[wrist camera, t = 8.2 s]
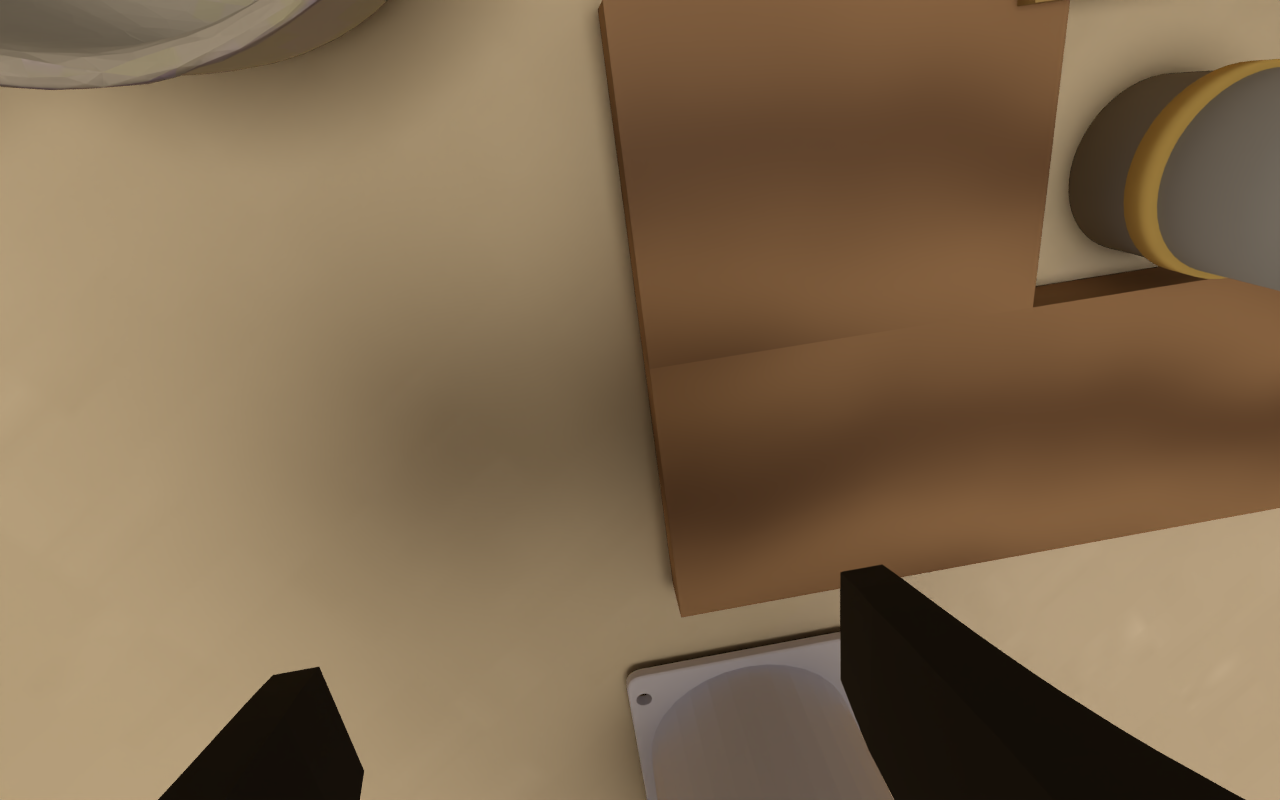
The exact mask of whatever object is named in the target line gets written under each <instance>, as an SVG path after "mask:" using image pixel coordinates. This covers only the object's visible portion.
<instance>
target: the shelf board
mask: <svg viewBox="0 0 1280 800" xmlns="http://www.w3.org/2000/svg"><path fill="white" fill-rule="evenodd" d="M1069 4H1070V0H602V2H601V4H600V6H599V8H598V13H599V21H600V29H601V36H602V44H603V52H604V59H605V67H606V75H607V82H608V90H609V98H610V105H611V113H612V121H613V128H614V136H615V144H616V151H617V159H618V166H619V174H620V182H621V189H622V197H623V205H624V212H625V220H626V228H627V235H628V243H629V251H630V258H631V266H632V274H633V281H634V289H635V297H636V304H637V312H638V319H639V327H640V335H641V342H642V350H643V358H644V365H645V373H646V381H647V388H648V396H649V404H650V411H651V419H652V427H653V434H654V442H655V450H656V457H657V465H658V473H659V480H660V488H661V495H662V503H663V511H664V518H665V526H666V534H667V541H668V549H669V557H670V564H671V572H672V580H673V586H674V590H675V594H676V598H677V602H678V606H679V610H680V614H681V617H686V616H692V615H697V614H703V613H708V612H714V611H719V610H725V609H730V608H735V607H741V606H746V605H752V604H757V603H763V602H768V601H774V600H779V599H785V598H790V597H795V596H801V595H806V594H812V593H817V592H823V591H828V590H834V589H839V588H840V572H843V571H848V570H854V569H859V568H865V567H870V566H876V565H881V564H883V565H884V566H885V567H887V568H888V569H890V570H891V571H892V572H894V573H895V574H896V575H898V576H899V577H905V576H910V575H916V574H921V573H926V572H932V571H937V570H943V569H948V568H954V567H959V566H965V565H970V564H976V563H981V562H986V561H992V560H997V559H1003V558H1008V557H1014V556H1019V555H1025V554H1030V553H1036V552H1041V551H1047V550H1052V549H1057V548H1063V547H1068V546H1074V545H1079V544H1085V543H1090V542H1096V541H1101V540H1107V539H1112V538H1117V537H1123V536H1128V535H1134V534H1139V533H1145V532H1150V531H1156V530H1161V529H1167V528H1172V527H1177V526H1183V525H1188V524H1194V523H1199V522H1205V521H1210V520H1216V519H1221V518H1227V517H1232V516H1237V515H1243V514H1248V513H1254V512H1259V511H1265V510H1270V509H1276V508H1280V291H1278V290H1274V289H1270V288H1266V287H1262V286H1258V285H1254V284H1250V283H1246V282H1242V281H1238V280H1234V279H1230V278H1223V279H1205V278H1200V277H1195V276H1191V275H1187V274H1183V273H1179V272H1176V271H1172V270H1168V269H1165V268H1162V267H1156V268H1150V269H1144V270H1137V271H1131V272H1125V273H1118V274H1112V275H1106V276H1100V277H1093V278H1087V279H1081V280H1074V281H1068V282H1062V283H1056V284H1049V285H1043V286H1037V287H1035V285H1036V277H1037V269H1038V260H1039V252H1040V244H1041V236H1042V227H1043V219H1044V211H1045V202H1046V194H1047V186H1048V178H1049V169H1050V161H1051V153H1052V145H1053V136H1054V128H1055V120H1056V111H1057V103H1058V95H1059V87H1060V78H1061V70H1062V62H1063V53H1064V45H1065V37H1066V29H1067V20H1068V12H1069Z"/></svg>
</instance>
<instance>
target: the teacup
mask: <svg viewBox="0 0 1280 800" xmlns="http://www.w3.org/2000/svg"><path fill="white" fill-rule="evenodd" d="M386 1H387V0H0V86H1V87H13V88H28V89H44V90H63V89H91V88H103V87H116V86H129V85H142V84H150V83H154V82H158V81H162V80H166V79H170V78H174V77H178V76H181V75H196V74H209V73H219V72H228V71H235V70H240V69H246V68H251V67H256V66H262V65H267V64H273V63H276V62H279V61H282V60H286V59H289V58H292V57H295V56H299V55H302V54H305V53H307V52H309V51H311V50H313V49H315V48H317V47H320V46H322V45H324V44H326V43H328V42H330V41H332V40H334V39H337V38H338V37H340V36H341V35H343V34H345V33H346V32H348V31H349V30H351V29H353V28H354V27H356V26H357V25H359V24H360V23H361V22H363V21H364V20H365V19H367V18H368V17H369V16H371V15H372V14H373V13H374V12H375V11H376V10H378V9H379V8H380V7H381V6H382V5H383V4H384V3H385V2H386Z"/></svg>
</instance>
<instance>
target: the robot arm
mask: <svg viewBox="0 0 1280 800" xmlns="http://www.w3.org/2000/svg"><path fill="white" fill-rule="evenodd" d="M626 684H627V692H628V697H629V703H630V708H631V714H632V719H633V725H634V730H635V736H636V741H637V747H638V752H639V758H640V763H641V769H642V775H643V780H644V786H645V791H646V797H647V800H893V798H894V800H1245V799H1243V798H1241V797H1239V796H1238V795H1236V794H1234V793H1232V792H1230V791H1228V790H1227V789H1225V788H1223V787H1221V786H1219V785H1218V784H1216V783H1214V782H1212V781H1210V780H1209V779H1207V778H1205V777H1203V776H1201V775H1200V774H1198V773H1196V772H1194V771H1193V770H1191V769H1189V768H1187V767H1185V766H1184V765H1182V764H1180V763H1178V762H1176V761H1175V760H1173V759H1171V758H1169V757H1167V756H1166V755H1164V754H1162V753H1160V752H1158V751H1157V750H1155V749H1153V748H1152V747H1150V746H1148V745H1147V744H1145V743H1143V742H1142V741H1140V740H1138V739H1136V738H1135V737H1133V736H1131V735H1130V734H1128V733H1126V732H1125V731H1123V730H1121V729H1120V728H1118V727H1116V726H1115V725H1113V724H1112V723H1110V722H1109V721H1107V720H1105V719H1104V718H1102V717H1101V716H1099V715H1097V714H1096V713H1094V712H1093V711H1091V710H1089V709H1088V708H1086V707H1085V706H1083V705H1082V704H1080V703H1078V702H1077V701H1075V700H1074V699H1072V698H1070V697H1069V696H1067V695H1066V694H1064V693H1062V692H1061V691H1059V690H1058V689H1056V688H1055V687H1053V686H1052V685H1050V684H1049V683H1047V682H1046V681H1044V680H1043V679H1041V678H1040V677H1038V676H1037V675H1035V674H1034V673H1032V672H1031V671H1029V670H1028V669H1026V668H1025V667H1024V666H1022V665H1021V664H1019V663H1018V662H1016V661H1015V660H1013V659H1012V658H1011V657H1009V656H1008V655H1006V654H1005V653H1003V652H1002V651H1001V650H999V649H998V648H996V647H995V646H993V645H992V644H990V643H989V642H988V641H986V640H985V639H983V638H982V637H981V636H979V635H978V634H976V633H975V632H974V631H972V630H971V629H970V628H968V627H967V626H965V625H964V624H963V623H961V622H960V621H959V620H957V619H956V618H954V617H953V616H952V615H950V614H949V613H948V612H946V611H945V610H944V609H942V608H941V607H940V606H938V605H937V604H935V603H934V602H933V601H931V600H930V599H929V598H927V597H926V596H925V595H923V594H922V593H921V592H919V591H918V590H917V589H915V588H914V587H913V586H911V585H910V584H909V583H907V582H906V581H904V580H903V579H902V578H900V577H899V576H898V575H896V574H895V573H894V572H892V571H891V570H890V569H888V568H887V567H885V566H884V565H883V564H881V565H876V566H870V567H865V568H859V569H854V570H848V571H843V572H840V632H836V633H830V634H825V635H820V636H814V637H809V638H804V639H798V640H793V641H788V642H782V643H777V644H772V645H766V646H761V647H756V648H750V649H745V650H740V651H734V652H729V653H724V654H718V655H713V656H707V657H702V658H697V659H691V660H686V661H681V662H675V663H670V664H665V665H659V666H654V667H649V668H643V669H639V670H636V671H633V672H632V673H631V674H629V676H628V677H627V681H626ZM641 694H647V695H645V696H639V695H641ZM860 730H861V732H860ZM861 733H862V735H863V737H862V735H861ZM863 738H864V739H863ZM864 740H865V741H864ZM865 742H866V743H865ZM363 775H364V770H363V767H362V765H361V763H360V760H359V758H358V756H357V753H356V751H355V749H354V746H353V744H352V742H351V740H350V737H349V735H348V733H347V730H346V728H345V726H344V723H343V721H342V719H341V716H340V714H339V712H338V709H337V707H336V705H335V702H334V700H333V698H332V695H331V693H330V691H329V688H328V686H327V684H326V682H325V679H324V677H323V675H322V672H321V670H320V668H319V667H315V668H310V669H304V670H299V671H293V672H288V673H282V674H277V675H273V676H272V677H271V678H270V679H269V680H268V681H267V682H266V683H265V684H264V685H263V686H262V687H261V688H260V689H259V690H258V691H257V692H256V693H255V694H254V695H253V696H252V698H251V699H250V700H249V701H248V702H247V703H246V704H245V705H244V706H243V707H242V708H241V709H240V711H239V712H238V713H237V714H236V715H235V716H234V717H233V718H232V719H231V720H230V722H229V723H228V724H227V725H226V726H225V727H224V728H223V729H222V730H221V731H220V733H219V734H218V735H217V736H216V737H215V738H214V739H213V740H212V741H211V743H210V744H209V745H208V746H207V747H206V748H205V749H204V750H203V751H202V752H201V754H200V755H199V756H198V757H197V758H196V759H195V760H194V761H193V762H192V763H191V765H190V766H189V767H188V768H187V769H186V770H185V771H184V772H183V773H182V774H181V775H180V777H179V778H178V779H177V780H176V781H175V782H174V783H173V784H172V785H171V786H170V787H169V788H168V790H167V791H166V792H165V793H164V794H163V795H162V796H161V797H160V798H159V799H158V800H360V795H361V788H362V781H363ZM886 784H887V785H886ZM887 786H888V787H887ZM888 788H889V789H888ZM889 790H890V791H889ZM890 792H891V794H892V796H893V798H892V796H891V794H890Z"/></svg>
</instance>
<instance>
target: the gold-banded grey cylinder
mask: <svg viewBox="0 0 1280 800" xmlns="http://www.w3.org/2000/svg"><path fill="white" fill-rule="evenodd" d="M1069 201H1070V206H1071V210H1072V213H1073V216H1074V218H1075V221H1076V222H1077V224H1078V226H1079V227H1080V229H1081V230H1082V231H1083V232H1084V233H1085V235H1086V236H1088V237H1089V238H1090V239H1091V240H1093V241H1094V242H1096V243H1098V244H1100V245H1102V246H1105V247H1108V248H1111V249H1115V250H1119V251H1123V252H1127V253H1131V254H1135V255H1139V256H1143V257H1145V258H1147V259H1148V260H1149V261H1150V262H1152V263H1154V264H1156V265H1158V266H1160V267H1162V268H1165V269H1168V270H1172V271H1176V272H1179V273H1183V274H1187V275H1191V276H1195V277H1200V278H1205V279H1223V278H1230V279H1234V280H1238V281H1242V282H1246V283H1250V284H1254V285H1258V286H1262V287H1266V288H1270V289H1274V290H1278V291H1280V59H1272V60H1258V61H1247V62H1239V63H1235V64H1231V65H1227V66H1225V67H1222V68H1220V69H1217V70H1214V71H1200V72H1183V73H1170V74H1161V75H1157V76H1153V77H1150V78H1147V79H1145V80H1142V81H1140V82H1138V83H1136V84H1134V85H1133V86H1131V87H1129V88H1127V89H1126V90H1125V91H1123V92H1122V93H1120V94H1119V95H1118V96H1117V97H1115V98H1114V99H1113V100H1112V101H1111V102H1110V103H1108V105H1107V106H1106V107H1105V108H1104V109H1103V110H1102V111H1101V112H1100V113H1099V114H1098V116H1097V117H1096V118H1095V119H1094V121H1093V122H1092V123H1091V125H1090V126H1089V128H1088V130H1087V131H1086V133H1085V134H1084V136H1083V138H1082V140H1081V142H1080V144H1079V146H1078V149H1077V151H1076V154H1075V156H1074V160H1073V163H1072V167H1071V172H1070V178H1069Z"/></svg>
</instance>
